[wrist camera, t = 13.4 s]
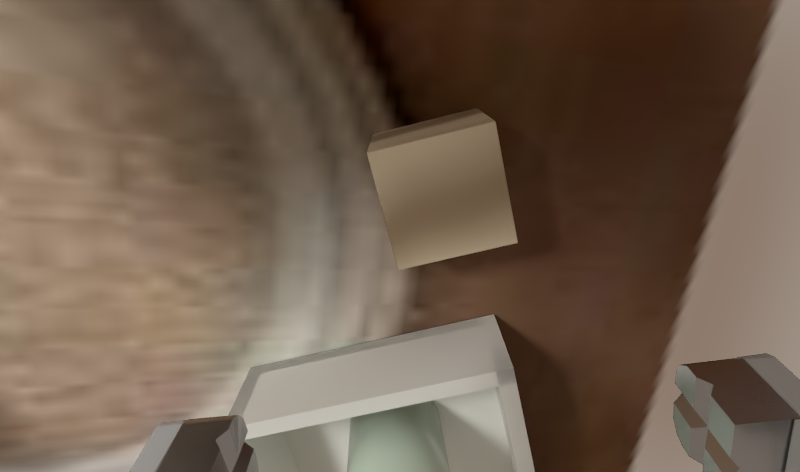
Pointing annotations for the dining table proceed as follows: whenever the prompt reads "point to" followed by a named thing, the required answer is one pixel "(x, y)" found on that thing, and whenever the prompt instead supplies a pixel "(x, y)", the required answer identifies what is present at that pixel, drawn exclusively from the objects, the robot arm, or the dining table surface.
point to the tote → (390, 399)
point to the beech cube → (442, 188)
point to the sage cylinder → (398, 441)
